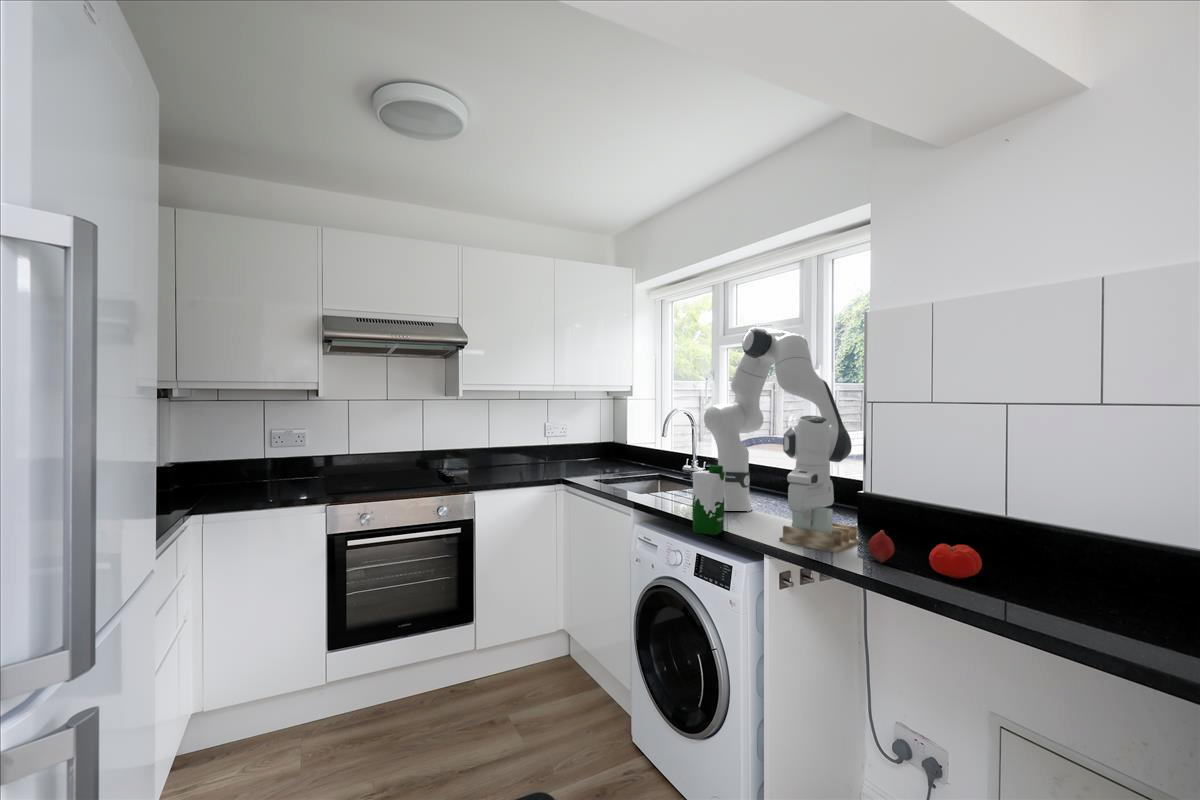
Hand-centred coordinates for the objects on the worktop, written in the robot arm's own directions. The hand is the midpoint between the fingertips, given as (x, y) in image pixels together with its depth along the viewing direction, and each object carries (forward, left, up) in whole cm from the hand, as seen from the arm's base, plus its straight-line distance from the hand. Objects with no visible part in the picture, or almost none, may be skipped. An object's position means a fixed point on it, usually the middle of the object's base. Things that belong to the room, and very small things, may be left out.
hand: (811, 524), depth 149 cm
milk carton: (-28, -9, -6) cm, 30 cm away
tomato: (+34, 0, -6) cm, 35 cm away
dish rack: (0, +5, -6) cm, 7 cm away
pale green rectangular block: (0, 0, -3) cm, 3 cm away
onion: (+19, -3, -6) cm, 20 cm away
